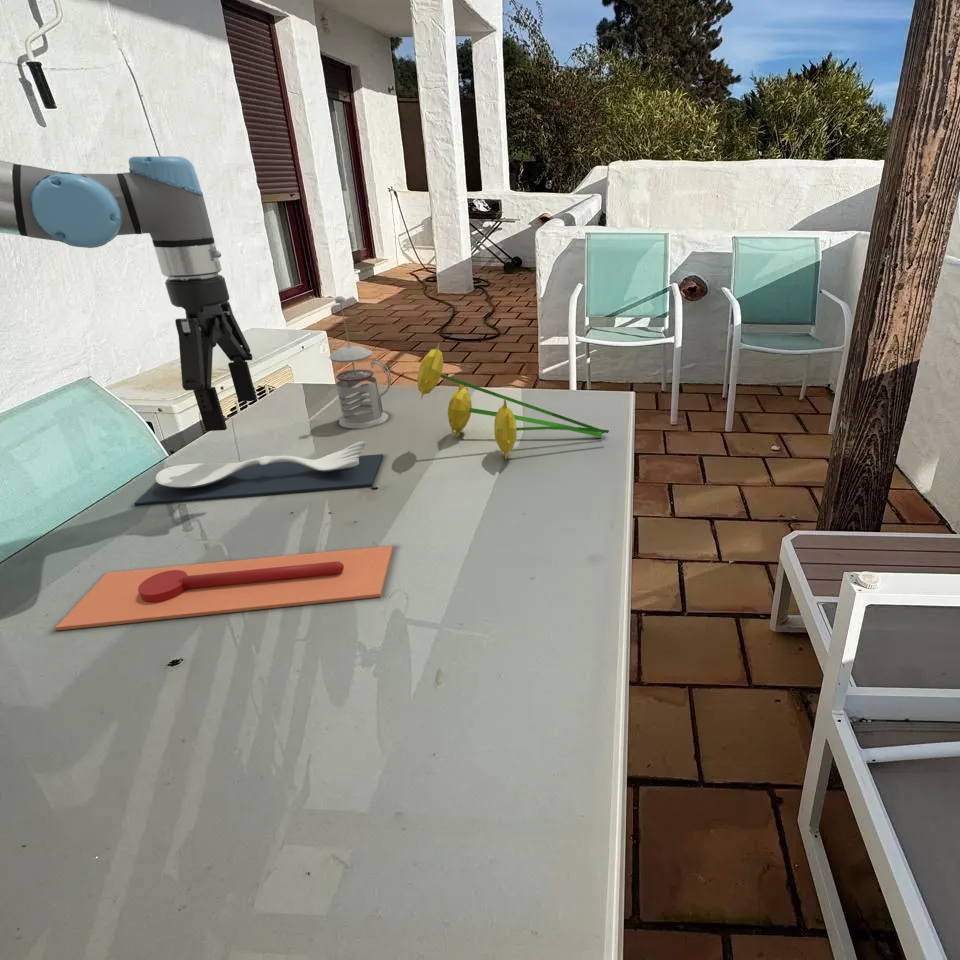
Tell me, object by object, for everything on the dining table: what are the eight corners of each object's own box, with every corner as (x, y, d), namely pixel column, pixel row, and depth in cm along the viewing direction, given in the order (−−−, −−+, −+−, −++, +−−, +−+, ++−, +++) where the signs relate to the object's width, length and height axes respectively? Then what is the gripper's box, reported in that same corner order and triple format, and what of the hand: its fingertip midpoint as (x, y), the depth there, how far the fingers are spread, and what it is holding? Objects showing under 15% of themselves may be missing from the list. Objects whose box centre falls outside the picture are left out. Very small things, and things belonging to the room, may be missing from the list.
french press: (345, 412, 135) (320, 292, 124) (400, 409, 136) (380, 290, 125) (333, 429, 126) (304, 302, 115) (392, 426, 127) (370, 299, 116)
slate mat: (135, 506, 99) (133, 503, 99) (169, 473, 110) (168, 470, 110) (372, 486, 104) (371, 483, 104) (383, 456, 114) (383, 454, 114)
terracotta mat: (56, 630, 73) (54, 627, 72) (108, 575, 82) (106, 572, 82) (380, 597, 77) (379, 593, 77) (393, 548, 87) (392, 545, 87)
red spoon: (132, 605, 76) (128, 594, 75) (153, 579, 80) (149, 569, 80) (340, 584, 79) (337, 573, 78) (348, 560, 83) (346, 550, 83)
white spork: (362, 478, 105) (358, 459, 104) (150, 499, 100) (143, 480, 98) (368, 456, 113) (365, 438, 112) (173, 475, 108) (166, 456, 106)
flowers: (593, 410, 132) (428, 351, 123) (626, 400, 111) (429, 328, 102) (571, 484, 132) (402, 430, 122) (599, 488, 110) (398, 424, 101)
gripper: (184, 289, 81) (229, 442, 90) (250, 263, 103) (281, 388, 112) (120, 291, 80) (172, 446, 89) (201, 264, 102) (236, 391, 111)
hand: (233, 414), depth 101 cm, fingers open, 13 cm apart
